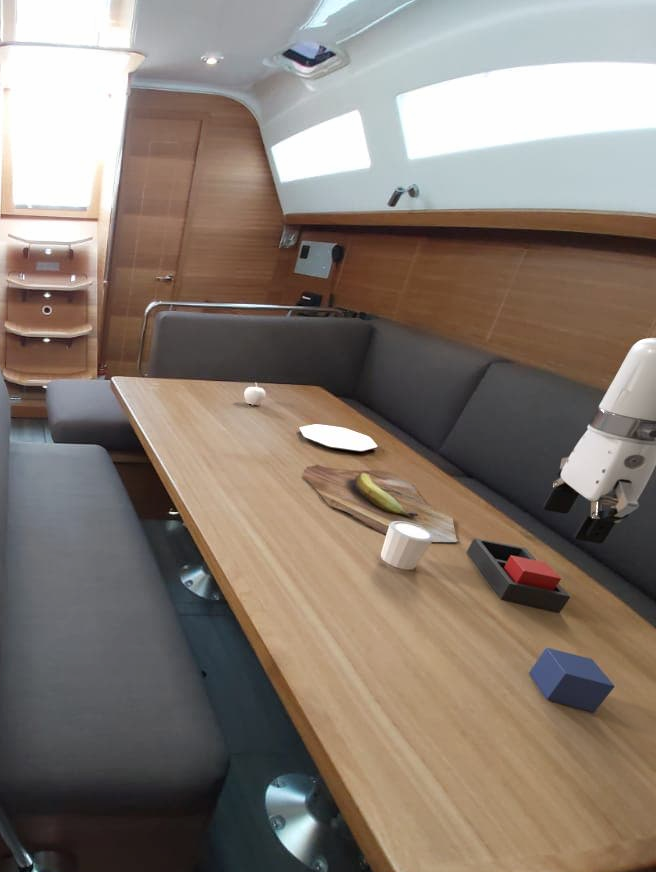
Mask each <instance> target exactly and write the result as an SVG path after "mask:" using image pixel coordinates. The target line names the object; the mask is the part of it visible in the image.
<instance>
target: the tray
mask: <svg viewBox="0 0 656 872" xmlns="http://www.w3.org/2000/svg"><path fill="white" fill-rule="evenodd" d="M466 553H467V555H468V556H469V558H470V559H471V560H472V562H473V563H474V564H475V566H476V567H477V569H478V570H479V572H480V573H481V574H482V576H483V577H484V579H485V580H486V582H488V584H489V585H490V587H491V588H492V590H493V591H494V592H495V594H496V595H497V596H498V598H499V600H502V601H506V602H509V603H514V604H519V605H524V606H529V607H532V608H538V609H540V610H541V609H542V610H546V611H549V612H553V613H554V612H555V613H561V612H562V610H563V609H564V607H565V606H566V605H567V603H568V601H569V600H570V599H571V595H570V594H569V593H568V592H567V591H566V590H565V589H564V588H563V587H562V586H561V585H560V583H558V584H557V586H556V587H555V589H554V591H552V590H547V589H543V588H538V587H533V586H529V585H524V584H520V583H515V582H513V581H512V580H511V579H510V577H509V576H508V575H507V574H506V572H505V571H504V570H503V568H504V566H505V564H506V563H507V561H508V559H509V557H510V556H511V555H512V556H517V557H522V558H527V559H532V560H537V558H535V556H534V555H533V554H532V553H531V552H530V551H529V549H527V548H526V547H523V546H517V545H513V544H508V543H503V542H502V543H501V542H497V541H493V540H487V539H482V538H477V537H474V538H473V539H472V541H471V543H470V544H469V547H468V549H467V551H466Z"/></svg>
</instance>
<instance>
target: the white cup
mask: <svg viewBox="0 0 656 872" xmlns="http://www.w3.org/2000/svg"><path fill="white" fill-rule="evenodd" d="M433 539H434V536H433V534H432V533H430V532H429V531H428V530H426V529H424V528H423V527H420V526H418V525H415V524H412V523H408V522H402V521H394V522H391V523H390V525H389V528H388V531H387V535H385V538H384V542H383V546H382V549H381V552H380V558H381V560H382V561H384V562H385V563H387V564H388V565H389V566H392V567H395V568H396V569H400V570H407V571H411V570H415V568H416V567H417V566H418V565H419V563H420V561H421V560H422V558H423V556H424V555H425V553H426V552H427V550H428V549H429V547H430V546H431V544H432V543H433V542H432V541H433Z"/></svg>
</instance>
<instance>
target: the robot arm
mask: <svg viewBox="0 0 656 872" xmlns="http://www.w3.org/2000/svg"><path fill="white" fill-rule="evenodd" d="M655 467H656V337H648V338H643V339H641V340H638V341H636V342H635V343H634V344H633V345H632V346H631V348H630V349H629V351H628V352H627V354H626V356H625V358H624V360H623V362H622V363H621V366H620V368H619V369H618V371H617V372H616V374H615V376H614V378H613V380H612V381H611V383H610V385H609V387H608V388H607V391H606V393H605V394H604V396H603V398H602V400H601V402H600V403H599V405H598V407H597V409H596V411H595V412H594V414H593V416H592V418H591V419H590V421H589V423H588V425H587V430H586V431H585V433H583V435H582V436H581V437H580V439H579V440H578V442H577V443H576V445H575V446H574V448H573V450H572V451H571V453H570V455H569V456H565V457H562V458H561V460H560V466H559V469H558V470H557V471H556V480H554V481H553V484H552V489H551V491H550V493H549V494H548V496H547V497H546V500H545V502H544V503H543V504H542V509H543V511H548V512H554V513H558V514H564V515H565V514H569V512H570V511H571V509H572V508H573V506H574V504H575V502H576V501H577V498H578V497H579V495H581V496H582V497H583V498H585V499H586V500H588V501H589V502H590V515H588V514H585V516H584V518H583V519H582V521H581V523H580V525H579V526H578V528H577V530H576V531H575V533H574V534H573V537H574V539H575V540H579V541H583V542H588V543H595V544H604V542H605V540H606V539H607V537H608V535H609V534H610V533H611V531H612V530H613V528H614V526H615V525H616V524H619V523H621V521H622V520H623V519H627V518H628V517H629V516H630V514H631V513H633V512H634V511H636V510H637V509H638V508H639V505H640V503H639V502H638V500H639V498H640V497H641V495H642V493H643V492H644V489H645V487H646V486H647V484H648V482H649V480H650V478H651V476H652V474H653V472H654V470H655ZM603 506H609V507H608V508H604V509H603Z"/></svg>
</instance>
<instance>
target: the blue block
mask: <svg viewBox="0 0 656 872" xmlns="http://www.w3.org/2000/svg"><path fill="white" fill-rule="evenodd" d="M528 673H529V675H530V676H531V678H532V680H533V681H534V683H535V684H536V686H537V687H538V689H539V690H540V691H541V693H542V694H543V696H544V698H545V699H546V700H547V701H551V702H554V703H557V704H561V705H566V706H568V707H572V708H575V709H579V710H583V711H587V712H590V713H595V712H596V711H597V710H598V709H599V707H600V706H601V705H602V704H603V702H604V701H605V700H606V699H607V697H609V695H610V694H611V692H612V691H613V690H614V688H615V687H616V686H615V685H614V683H613V682H612V681H611V680H610V678H609V677H608V676H607V674H605V673H604V671H603V670H602V669H601V667H600V666H599V665H598V664H597V663H596V662H595V661H594V659H593V658H589V657H586V656H582V655H578V654H574V653H570V652H566V651H561V650H558V649H554V648H550V647H545V648H544V650H543V651H542V652H541V654H540V656H539V657H538V659H537V660H536V662H535V663H534V665H533V666H532V668H531V669H530V670H529V672H528Z"/></svg>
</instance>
